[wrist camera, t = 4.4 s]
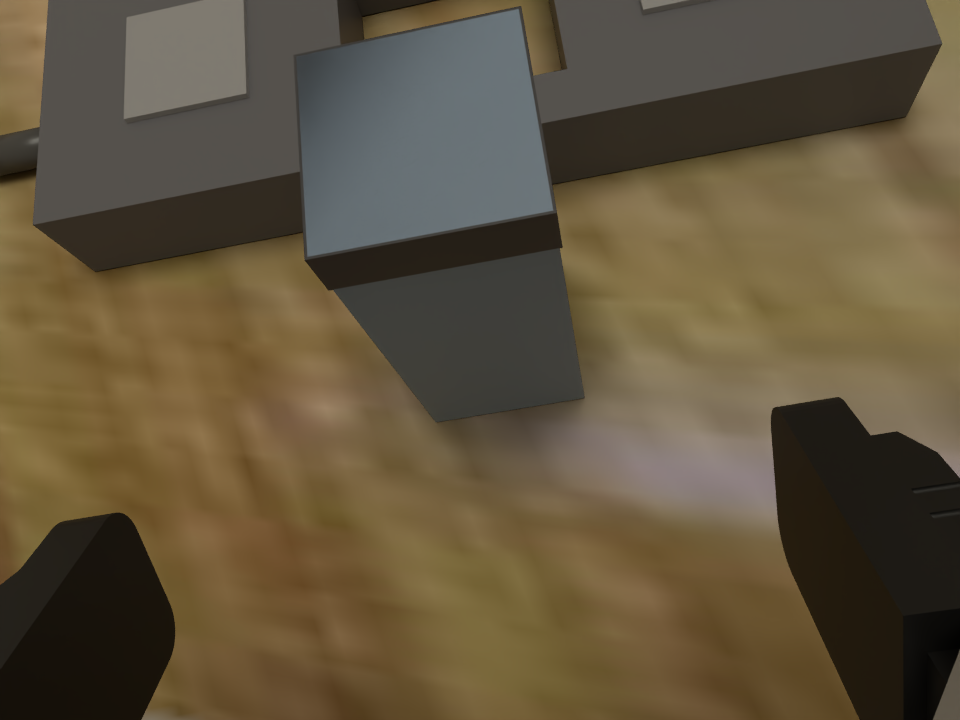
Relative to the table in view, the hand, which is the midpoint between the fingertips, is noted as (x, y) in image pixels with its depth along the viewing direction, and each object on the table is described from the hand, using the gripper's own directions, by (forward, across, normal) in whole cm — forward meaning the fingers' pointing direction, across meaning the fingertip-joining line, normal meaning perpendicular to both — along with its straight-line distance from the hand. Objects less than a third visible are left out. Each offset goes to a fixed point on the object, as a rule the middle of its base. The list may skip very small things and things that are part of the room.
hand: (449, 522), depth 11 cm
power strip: (+19, +2, -3) cm, 20 cm away
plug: (+13, 0, +3) cm, 13 cm away
